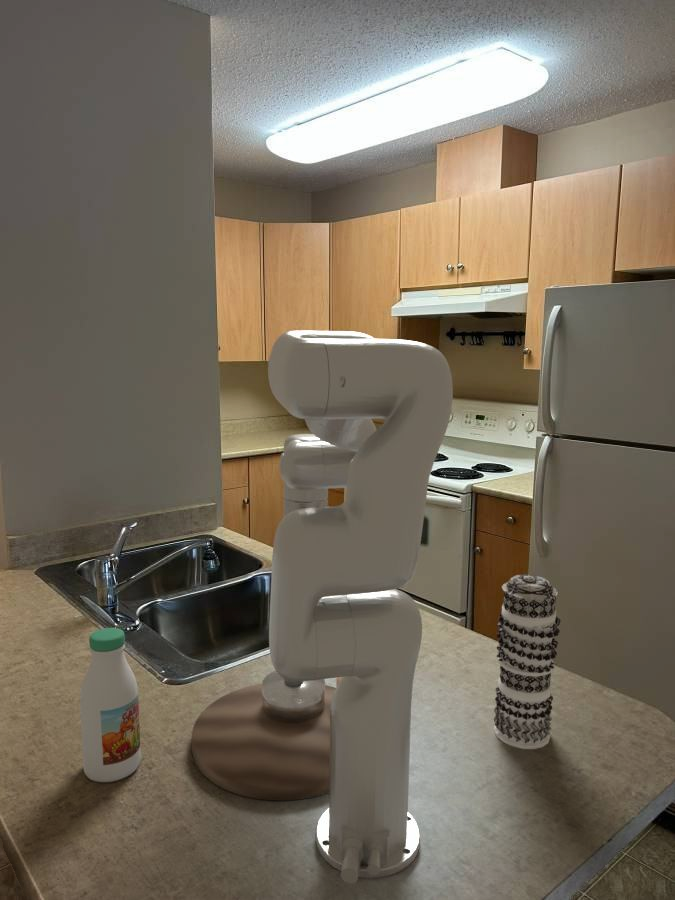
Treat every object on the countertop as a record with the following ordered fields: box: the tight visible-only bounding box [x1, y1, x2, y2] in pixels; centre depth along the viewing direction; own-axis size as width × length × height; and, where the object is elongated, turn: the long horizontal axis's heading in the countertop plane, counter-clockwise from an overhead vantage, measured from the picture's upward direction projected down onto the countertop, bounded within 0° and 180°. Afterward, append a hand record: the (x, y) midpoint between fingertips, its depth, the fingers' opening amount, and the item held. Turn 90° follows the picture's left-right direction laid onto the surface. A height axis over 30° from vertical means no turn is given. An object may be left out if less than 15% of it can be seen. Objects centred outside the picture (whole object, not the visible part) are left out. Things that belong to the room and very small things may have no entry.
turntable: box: [191, 677, 342, 801], centre depth 101 cm, size 28×28×6 cm
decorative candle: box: [493, 574, 562, 750], centre depth 102 cm, size 9×9×25 cm
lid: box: [261, 670, 326, 723], centre depth 107 cm, size 10×10×6 cm
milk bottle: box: [80, 627, 142, 783], centre depth 93 cm, size 8×8×20 cm
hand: (304, 609), depth 116 cm, fingers closed
